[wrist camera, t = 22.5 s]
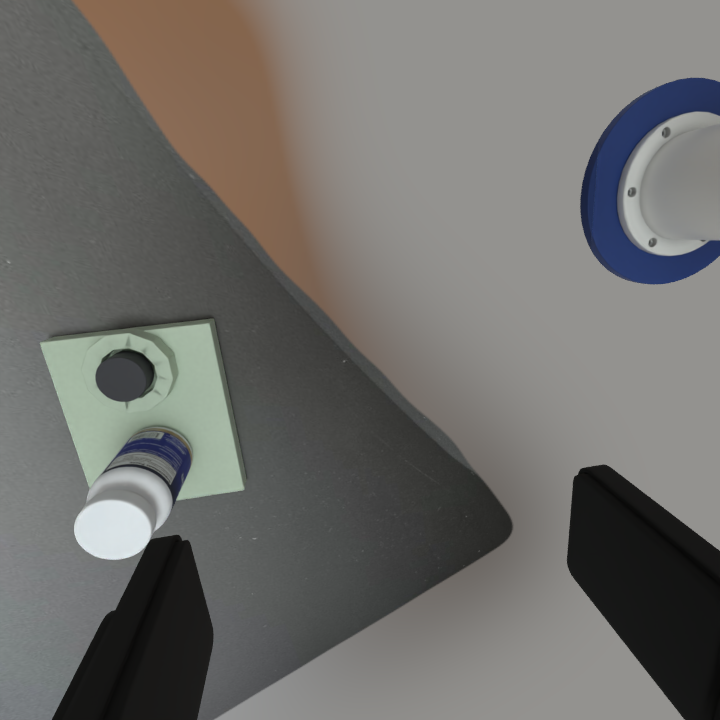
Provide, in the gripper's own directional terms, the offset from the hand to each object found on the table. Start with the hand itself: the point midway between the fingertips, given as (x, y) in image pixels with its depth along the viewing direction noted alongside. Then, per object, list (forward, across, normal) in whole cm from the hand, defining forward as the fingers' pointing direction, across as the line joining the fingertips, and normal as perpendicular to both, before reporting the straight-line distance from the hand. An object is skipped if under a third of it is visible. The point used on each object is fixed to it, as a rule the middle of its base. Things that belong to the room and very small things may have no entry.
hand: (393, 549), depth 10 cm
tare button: (+25, +16, +2) cm, 30 cm away
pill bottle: (+27, +16, +10) cm, 33 cm away
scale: (+28, +16, +7) cm, 33 cm away
